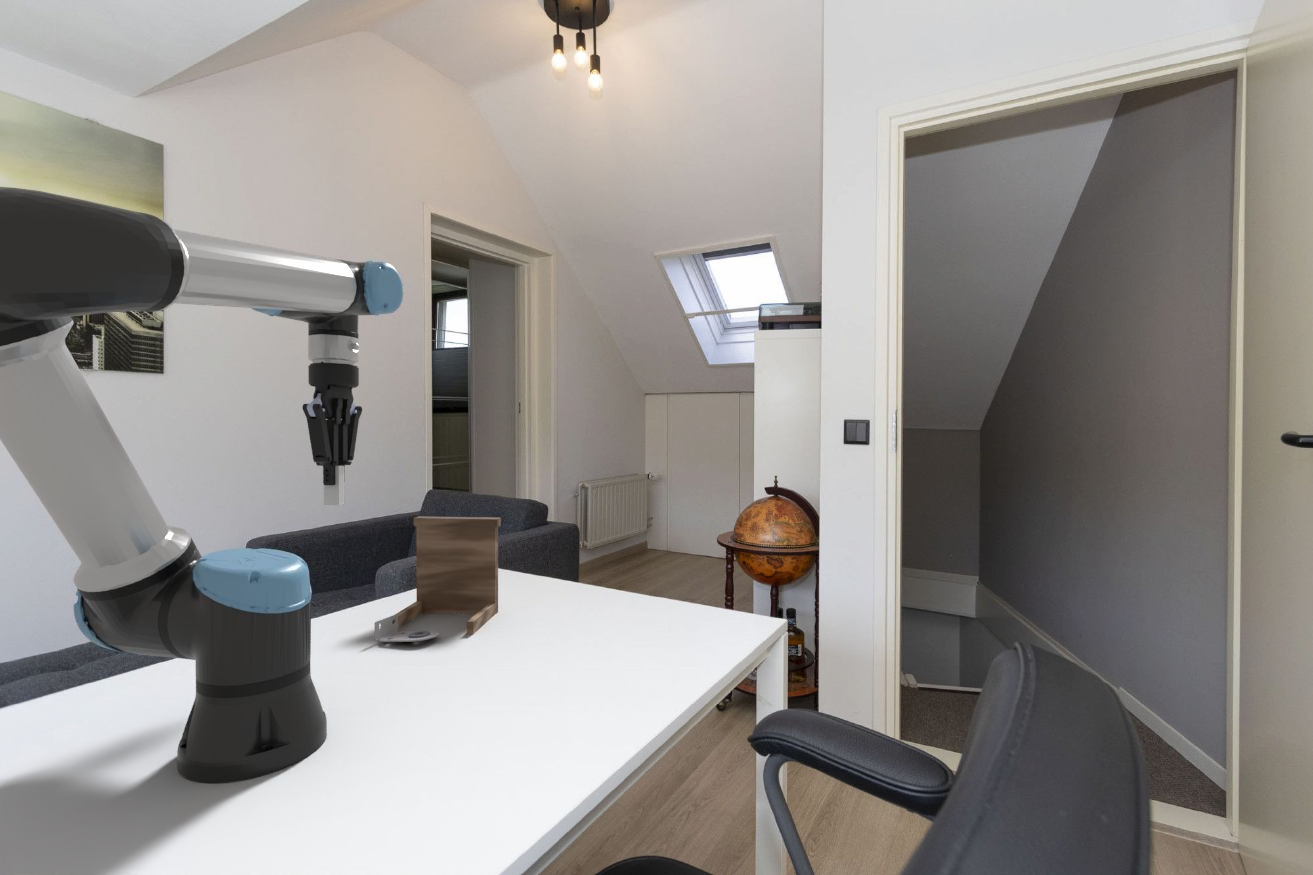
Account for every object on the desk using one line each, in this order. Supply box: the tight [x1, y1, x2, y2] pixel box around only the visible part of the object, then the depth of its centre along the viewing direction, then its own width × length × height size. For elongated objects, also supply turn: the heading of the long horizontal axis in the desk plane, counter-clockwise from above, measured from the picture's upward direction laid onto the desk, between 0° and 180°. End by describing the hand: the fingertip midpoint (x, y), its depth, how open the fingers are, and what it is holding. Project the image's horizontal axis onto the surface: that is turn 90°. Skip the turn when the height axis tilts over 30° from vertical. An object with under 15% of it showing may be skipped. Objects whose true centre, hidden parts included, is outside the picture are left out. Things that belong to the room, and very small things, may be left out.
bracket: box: [374, 614, 440, 643], centre depth 116 cm, size 7×10×4 cm, turn 78°
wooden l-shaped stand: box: [392, 515, 502, 636], centre depth 127 cm, size 15×17×20 cm
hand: (334, 504), depth 108 cm, fingers closed
